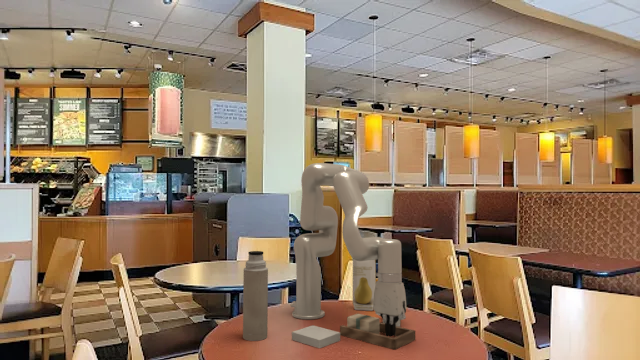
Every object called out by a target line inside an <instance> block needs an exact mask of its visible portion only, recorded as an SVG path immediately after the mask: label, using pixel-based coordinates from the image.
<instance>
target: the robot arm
mask: <svg viewBox="0 0 640 360" xmlns="http://www.w3.org/2000/svg"><path fill="white" fill-rule="evenodd" d="M321 186H322V187H325V186H328V187H333V189H334V191H335V194H336V196H337V200H338V202H339V203H340V206H341V209H342V212H343V213H344V218H343V223H342V231H341V232H342V239H343V242H344V245H345V246H346V250H347V251H348V253H349V256H351V258H352V260H353V259H355V260H356V261H368V260H376V261H377V272H376V274H375V275H376V277H377V281H376V284H375V289H374V299H373V311H374V314H375V315H377V316H379V317H381V319H382V323H383V322H384V323H385V332H386V334H385V336H388V337H392V338H393V337H395V336H394V335H395V333H396V323H397V321H398V320H400V321H401V320H406V318H407V317H406V312H407V296H406V289H405V286H404V285H405V284H404V282H402V281H403V280H402V276H403V274H402V268H403V267H402V242H401V241H400V240H399V239H394V238H393V239H392V238H384V237H380V236H369V237H362V235H361V232H360V229H359V226H358V220H359V218H360V217H361V216H363V215H364V214H365V213H366V212H368V204H367V201H366V200H365V197H364V195H365V194H366V192H367V191H368V190H369V187H370V181H369V178H368V177H367V175H366V174H365V173H364V172H362V171H360V170H358V169H354V168H351V167H349V166H347V165H343V164H338V163H337V164H336V163H325V162H317V163H315V162H314V163H311V164H309V165H307V166H306V167H305V168H304V170H303V171H302V175H301V204H300V214H299V215H300V217H299V223H300V226H301V228H302V229H303V230H305V231H318V232H312V233H311V232H310V233H303V234H300V235H299V236H297V237H296V238H295V240H294V243H293V251H294V255H295V265H296V266H295V267H296V269H295V270H296V273H295V275H296V295H295V296H296V298H295V299H296V300H293V301H292V303H290V307H292V308H293V309H294V310H293V311H292V313H291V315H292V317H294V318H296V319H299V320H316V319H322V318H323V317H325V310H322V307H321V306H322V303H321V301H322V293H321V292H322V287H321V286H322V276H321V274H322V271H321V266H320V263H319V262H318V261H319V260H318V259H317V258H323V257H328V256H330V255H332V254H333V253H334V252H335V249H336V245H337V237H338V226H339V217H338V213H337V211H336V210H335V209H334V208H333V207H332V206H329V205H324V201H325V195H324V193H323V189H322V187H321Z"/></svg>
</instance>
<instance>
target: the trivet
mask: <svg viewBox="0 0 640 360" xmlns="http://www.w3.org/2000/svg"><path fill="white" fill-rule="evenodd" d="M291 341H296V342H298V343H301V344H304V345H308V346H311V347H314V348H316V349H321V348H324V347H327V346H329V345H332V344H335V343H337V342H340V341H341V335H340V332H339V331H336V330H333V329H332V330H331V329H329V328H328V329H327V328H324V327H320V326H317V325H310V326H306V327H304V328H301V329H300V328H299V329H297V330H294V331H291Z"/></svg>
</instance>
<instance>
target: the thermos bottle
mask: <svg viewBox="0 0 640 360" xmlns="http://www.w3.org/2000/svg"><path fill="white" fill-rule="evenodd" d="M247 252H248V259H247V260H246V261H245V267H244V268H243V283H242V284H243V292H242V293H243V295H242V296H243V299H242V300H243V303H242V307H243V308H242V338H243V339H244V340H245V341H250V342H252V341H253V342H254V341H255V342H256V341H257V342H258V341H262V340H265V339H266V338H268V331H269V330H268V316H269V315H268V310H269V309H268V304H269V303H268V302H269V299H268V294H269V293H268V292H269V285H268V284H269V276H268V275H269V268H268V267H266V266H267V262H266V261H265V260H264V251H261V250H252V251H247Z"/></svg>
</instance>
